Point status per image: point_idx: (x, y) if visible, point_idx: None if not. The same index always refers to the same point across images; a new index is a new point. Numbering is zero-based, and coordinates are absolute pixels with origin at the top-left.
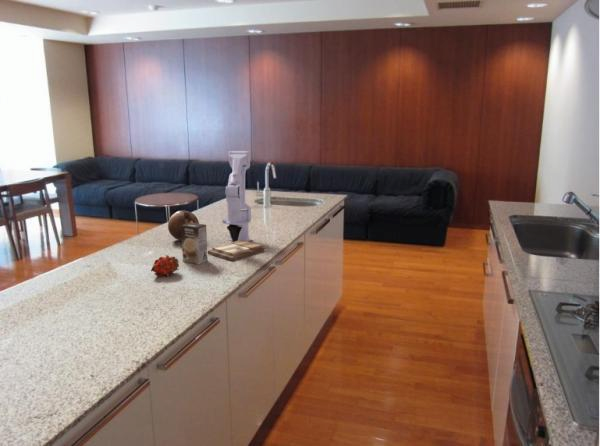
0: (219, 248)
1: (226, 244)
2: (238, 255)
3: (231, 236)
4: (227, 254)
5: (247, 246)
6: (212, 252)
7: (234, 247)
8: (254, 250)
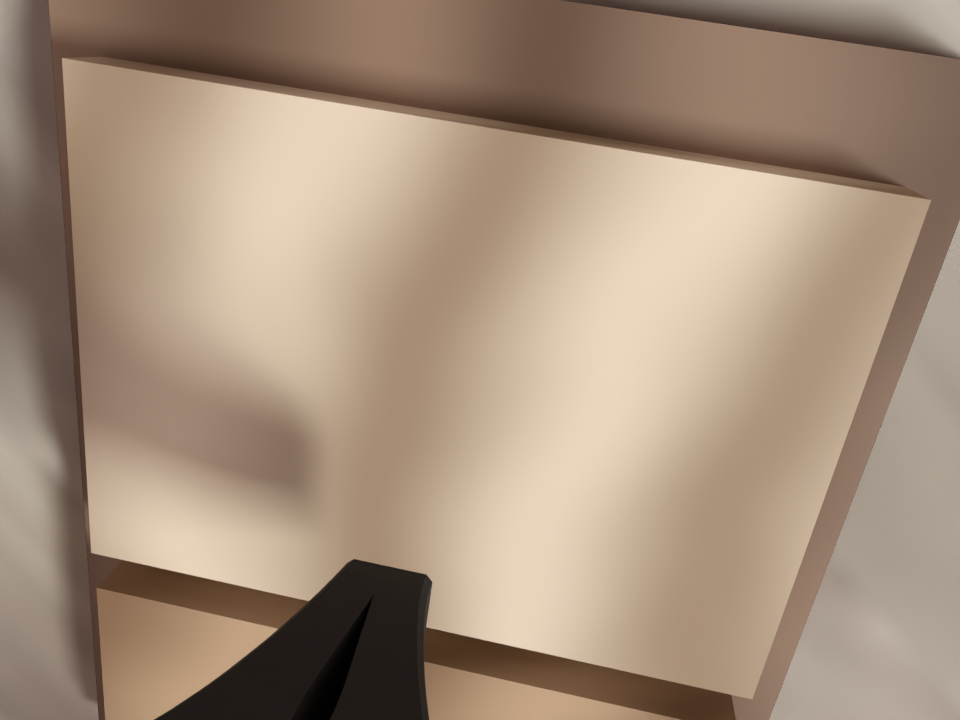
0: (679, 234)
1: (732, 580)
2: (65, 171)
3: (401, 655)
4: (307, 90)
5: (237, 638)
6: (793, 36)
7: (398, 470)
8: (96, 580)
